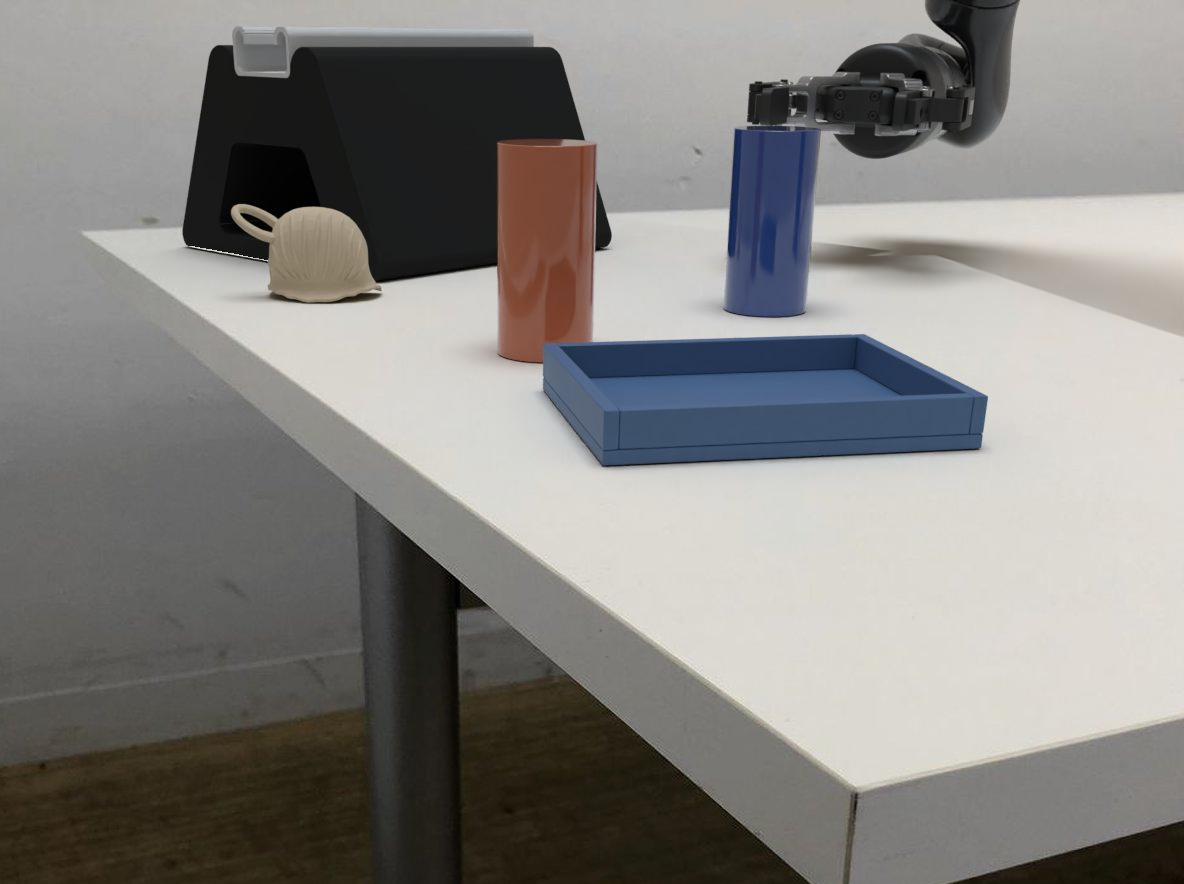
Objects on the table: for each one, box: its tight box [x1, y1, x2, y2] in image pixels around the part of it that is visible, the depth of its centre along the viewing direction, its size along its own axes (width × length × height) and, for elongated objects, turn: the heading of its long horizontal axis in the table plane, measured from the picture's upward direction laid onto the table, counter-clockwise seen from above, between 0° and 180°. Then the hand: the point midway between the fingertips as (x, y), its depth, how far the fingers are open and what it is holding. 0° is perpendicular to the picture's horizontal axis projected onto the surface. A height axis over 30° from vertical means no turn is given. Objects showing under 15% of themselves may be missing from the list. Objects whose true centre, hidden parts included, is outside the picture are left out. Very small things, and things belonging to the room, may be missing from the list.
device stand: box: [181, 26, 613, 282], centre depth 101 cm, size 22×22×15 cm
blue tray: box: [542, 333, 989, 466], centre depth 58 cm, size 15×12×2 cm
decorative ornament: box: [231, 204, 382, 303], centre depth 83 cm, size 4×8×5 cm, turn 84°
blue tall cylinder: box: [723, 125, 822, 318], centre depth 80 cm, size 5×5×10 cm
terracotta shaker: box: [496, 139, 598, 364], centre depth 68 cm, size 5×5×10 cm
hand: (831, 109), depth 87 cm, fingers open, 8 cm apart
